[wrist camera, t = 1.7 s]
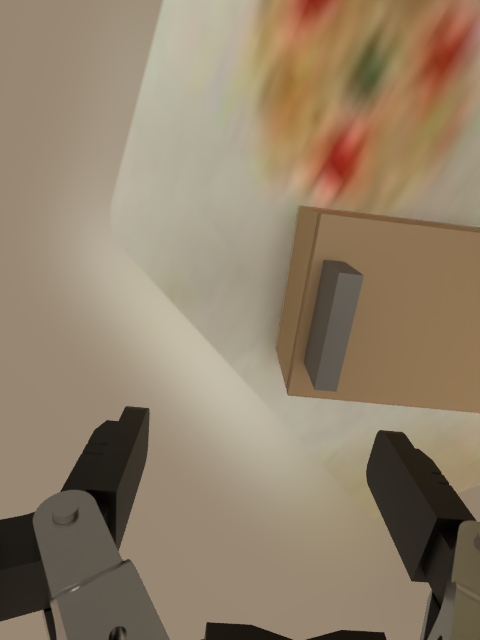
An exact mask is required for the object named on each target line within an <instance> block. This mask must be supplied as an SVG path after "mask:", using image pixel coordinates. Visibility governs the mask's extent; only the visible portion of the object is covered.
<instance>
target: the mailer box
mask: <svg viewBox="0 0 480 640" xmlns="http://www.w3.org/2000/svg"><path fill="white" fill-rule="evenodd" d="M319 213H325V214H333V215H341V216H350V217H358V218H366V219H375V220H383V221H391V222H399V223H408V224H416V225H424V226H433V227H441V228H449V229H457V230H466V231H474V232H480V228H479V227H471V226H462V225H454V224H446V223H438V222H429V221H421V220H413V219H405V218H396V217H388V216H380V215H372V214H364V213H355V212H347V211H339V210H331V209H322V208H314V207H306V206H299V208H298V214H297V220H296V226H295V232H294V239H293V245H292V251H291V257H290V263H289V269H288V275H287V281H286V287H285V294H284V300H283V306H282V312H281V318H280V324H279V330H278V336H277V342H276V351H277V355H278V359H279V362H280V366H281V370H282V374H283V378H284V382H285V386H286V388H287V385H288V379H289V374H290V368H291V363H292V357H293V352H294V346H295V341H296V335H297V330H298V324H299V319H300V314H301V308H302V303H303V297H304V292H305V286H306V281H307V275H308V270H309V264H310V259H311V253H312V248H313V242H314V237H315V231H316V226H317V220H318V215H319Z"/></svg>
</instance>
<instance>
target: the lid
mask: <svg viewBox="0 0 480 640" xmlns="http://www.w3.org/2000/svg"><path fill="white" fill-rule="evenodd" d="M287 394H288V395H290V396H301V397H312V398H322V399H333V400H344V401H355V402H366V403H376V404H387V405H398V406H409V407H420V408H430V409H441V410H452V411H463V412H474V413H480V232H474V231H466V230H457V229H449V228H441V227H433V226H424V225H416V224H408V223H399V222H391V221H383V220H375V219H366V218H358V217H350V216H341V215H333V214H325V213H319V215H318V220H317V226H316V231H315V237H314V242H313V248H312V253H311V259H310V264H309V270H308V275H307V281H306V286H305V292H304V297H303V303H302V308H301V314H300V319H299V324H298V330H297V335H296V341H295V346H294V352H293V357H292V363H291V368H290V374H289V379H288V385H287Z"/></svg>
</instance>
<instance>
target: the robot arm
mask: <svg viewBox="0 0 480 640" xmlns="http://www.w3.org/2000/svg"><path fill="white" fill-rule="evenodd" d="M148 433H149V408H141V407H128V406H126V407H125V409H124V411H123V413H122V415H121V417H120V419H119V421H109V420H107V421H105V422H104V423H103V424H102V425H100V426H99V427H98V428H96V429H95V430H94V432H93V434H92V436H91V437H90V439H89V441H88V444H87V445H86V446H85V448H84V450H83V453H82V454H81V456H80V457H79V459H78V461H77V463H76V464H75V466H74V468H73V470H72V472H71V473H70V475H69V477H68V479H67V481H66V482H65V484H64V486H63V488H62V490H61V492H59V493H57V494H54V495H53V496H51V497H49V498H48V499H46V500H45V501H44V502H43V503H42V504H40V506H39V507H38V508H37V510H36V511H35V512H33V513H30V514H27V515H23V516H18V517H13V518H8V519H2V520H0V621H4V620H7V619H11V618H14V617H18V616H22V615H25V614H29V613H32V612H36V611H40V610H42V615H43V619H44V624H45V628H46V632H47V637H48V640H170V639H169V637H168V635H167V633H166V631H165V628H164V626H163V624H162V622H161V620H160V618H159V616H158V614H157V612H156V609H155V607H154V605H153V603H152V601H151V599H150V597H149V595H148V593H147V590H146V588H145V586H144V584H143V582H142V580H141V578H140V576H139V574H138V572H137V570H136V568H135V566H134V564H133V563H132V561H130V560H129V559H127V560H126V561H123V560H122V558H121V556H120V554H119V552H118V551H119V548H120V545H121V541H122V538H123V535H124V532H125V528H126V525H127V522H128V519H129V515H130V512H131V509H132V505H133V503H134V499H135V496H136V493H137V490H138V486H139V483H140V480H141V476H142V473H143V470H144V466H145V462H146V458H147V451H148ZM366 477H367V483H368V486H369V488H370V490H371V493H372V495H373V497H374V499H375V501H376V504H377V506H378V508H379V510H380V512H381V515H382V517H383V519H384V521H385V524H386V526H387V528H388V530H389V532H390V535H391V537H392V539H393V541H394V543H395V546H396V548H397V550H398V552H399V554H400V556H401V559H402V561H403V563H404V565H405V568H406V570H407V572H408V574H409V576H410V579H411V581H415V582H428V583H429V585H430V587H431V588H432V590H431V592H430V594H429V597H428V601H427V606H426V612H425V616H424V622H423V627H422V632H421V637H420V640H480V522H477V521H476V520H475V518H474V517H473V515H472V514H471V513H470V511H469V510H468V509H467V507H466V506H465V504H464V503H463V502H462V500H461V499H460V497H459V496H458V495H457V493H456V492H455V491H454V489H453V488H452V486H449V482H448V481H447V480H446V478H445V477H444V475H442V474H441V471H440V470H439V469H438V467H437V466H436V464H435V463H434V462H433V460H432V459H430V458H429V457H428V456H427V455H426V454H424V453H423V452H422V451H421V450H419V449H415V448H414V446H413V445H412V444H411V442H410V441H409V439H408V438H407V436H406V435H405V434H404V433H403V432H394V431H384V430H380V431H378V433H377V435H376V438H375V441H374V444H373V448H372V451H371V454H370V458H369V461H368V464H367V470H366ZM202 640H292V639H290V638H287V637H284V636H281V635H278V634H276V633H273V632H270V631H267V630H264V629H261V628H258V627H256V626H253V625H244V624H227V623H209V622H207V624H206V631H205V638H204V639H202ZM307 640H386V637H385V634H384V632H367V631H347V630H340V631H336V632H333V633H329V634H325V635H322V636H318V637H315V638H311V639H307Z"/></svg>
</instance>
